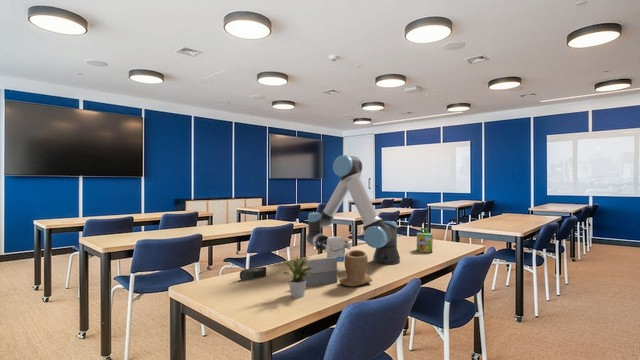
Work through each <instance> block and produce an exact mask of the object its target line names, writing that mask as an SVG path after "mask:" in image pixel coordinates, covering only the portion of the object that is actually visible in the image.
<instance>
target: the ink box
mask: <svg viewBox="0 0 640 360" xmlns="http://www.w3.org/2000/svg"><path fill="white" fill-rule="evenodd" d="M328 237H329V238H328V239H327V245H328V246H329V248H330V251H329V252H328V251H326V258H329V257H337V263H344V261H345V255H346V248H345V241H346V237H345V236H328Z"/></svg>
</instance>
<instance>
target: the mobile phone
mask: <svg viewBox="0 0 640 360" xmlns="http://www.w3.org/2000/svg"><path fill="white" fill-rule="evenodd" d="M265 277H267V267H266V266H261V267H260V266H259V267H253V268H245V269H243V270H240V271H239V280H238V282H239V283H240V282H245V281H250V280H256V279H260V278H265Z"/></svg>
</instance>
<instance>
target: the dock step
mask: <svg viewBox="0 0 640 360" xmlns="http://www.w3.org/2000/svg"><path fill="white" fill-rule="evenodd" d="M311 260H312V261H311ZM309 261H310V262H309ZM308 262H309V263H308ZM307 263H308V264H307ZM306 264H307V265H306ZM306 264H305V265H306V266H305V267H304V265H303V266H302V267H304V268H305V269H306V268H315V269H310V270H307V271H306V272H312V273H313V274H311V273H307V274H310V276H309V275H305V276H304V277H303V278H304V279H306V285H307V287H313V286H318V285H319V286H320V284H321V285H327V284H334V283H338V271H337V270H338V262H337V257H329V258H327V257H322V258H321V257H320V258H313V259H306ZM302 269H303V268H302ZM303 270H304V269H303ZM301 271H302V270H301ZM306 272H305V274H306Z"/></svg>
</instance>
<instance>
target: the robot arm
mask: <svg viewBox="0 0 640 360" xmlns="http://www.w3.org/2000/svg"><path fill="white" fill-rule="evenodd" d="M332 171H333V172H334V174H335V175H336V176H338V177H339V178H340V181H339V182H338V184H337V185H336V188H335V189H334V191H333V192H332V194H331V197H330V198H329V200H328V202H327V203H326V206H325V207H324V209H323V211H322V212H309V213H308V217H307V225H308V226H307V229H308V230H307V231H308V233H307V234H306V238H305V239H306V242H307V244H309V245H311V246H314V247H316V248H315V249H316V251H317V250H319V251H320V252H322V251H326V252H327V251H328V252H329V251H330V248H329V246H328V245H327V239H328V238H329V237H330V236H327V235H325V234H322V228H324V227H329V226H331V225H332V224H333V223H334V217H335V215H336V214H337V212H338V210H339V208H340V207H341V205H342V203H343V201H344V200H345V198H346V197H347V195H348V192H349V194H350V196H351V198H352V201H353V203H354V205H355V207H356V209H357V212H358V214H359V216H360V218H361V221H362V223H363V225H362V230H363V232H364V233H363V239H364V242H365V243H366V245H368V246H369V247H371V248H373V249H374V250H375V251H374V254H373V256H372V261H373V262H374V263H377V264H379V265H380V264H381V265H396V264H397V265H398V263H400V262H401V257H400V253H399V251H398V244H397V243H398V242H397V241H398V237H397V236H398V235H397V234H398V231H397V230H398V226H397V222H396V221H390V220H383V218H381V217H379V215H378V214H377V211H376V209H375V207H374V205H373V203H372V201H371V199H370V197H369V196H370V195H369V194H368V191H367V190H366V188H365V186H364V183H363V181H362V180H361V177H362V176H361V175H362V171H363V163H362V161H361V159H360V158H359V157H357V156H354V155H353V156H352V155H351V156H350V155H347V154H346V155H345V154H344V155H339V156H337V157H336V158H335V160H334V161H333V164H332ZM345 249H346V250H347V249H348V250H351V243H349V241H348V240H347V241H346V240H345Z"/></svg>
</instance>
